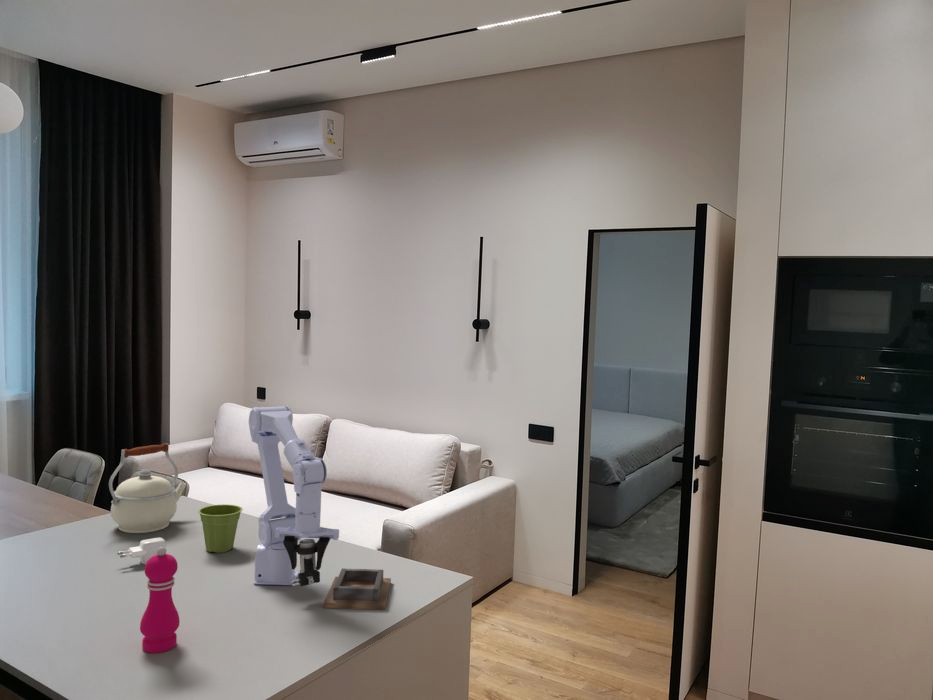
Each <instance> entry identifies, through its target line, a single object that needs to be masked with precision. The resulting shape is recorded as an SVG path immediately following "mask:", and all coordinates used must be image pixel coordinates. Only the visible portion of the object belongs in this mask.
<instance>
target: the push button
mask: <svg viewBox="0 0 933 700" xmlns="http://www.w3.org/2000/svg"><path fill="white" fill-rule="evenodd" d="M296 549H297V554H298V555H299V563H300V564H299V567H300V569H299V573H298V576H297V578H296V579H295V580H293V582H294V583H293V584H292V585H291V586H293V587H294V586H298V585H299V586H300V587H305V586H310V585H313V584H318V583H320V582H321V574H320V571H319V570H316V564H317V559H316V554H317V541H316V540H315V538H303V539H302V540H301V539H300V540H299V541H298V544H297V545H296ZM295 582H296V583H295Z"/></svg>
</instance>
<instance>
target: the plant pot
mask: <svg viewBox="0 0 933 700" xmlns="http://www.w3.org/2000/svg"><path fill="white" fill-rule="evenodd" d="M242 511H243V507H242V506H240V505H235V504H211V505H206V506H204V507H201V508H199V509H198V510H197V513H198V514H199V515H200V521H201V523H202V530H203V537H204V539H203V540H204V544H205V550H206V551H207V552H210V553H211V552H213V553H217V554H219V553H220V554H221V553H226V552H229V551H231V549H232V550H233V548H234V544H235V538H236V535H237V534H236V533H237V529H238V524H239V520H240V516H241V513H242Z"/></svg>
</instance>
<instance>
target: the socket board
mask: <svg viewBox="0 0 933 700" xmlns="http://www.w3.org/2000/svg"><path fill="white" fill-rule="evenodd" d="M391 581H392V579H391V577H390V578H389V577H384V569H376V568H375V569H373V568H372V569H369V568H341V570H340V571H339V574H338V576H335V577H334V579H333V581H332V584H331V586H330V588H329V591H328V593H327V594H326V597H325V599H324V602H323V608H324V609H351V610H352V609H353V610H354V609H356V610H386V605H387V603H388V602H387V601H388V597H389V592H390V587H391V584H392V583H391Z"/></svg>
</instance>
